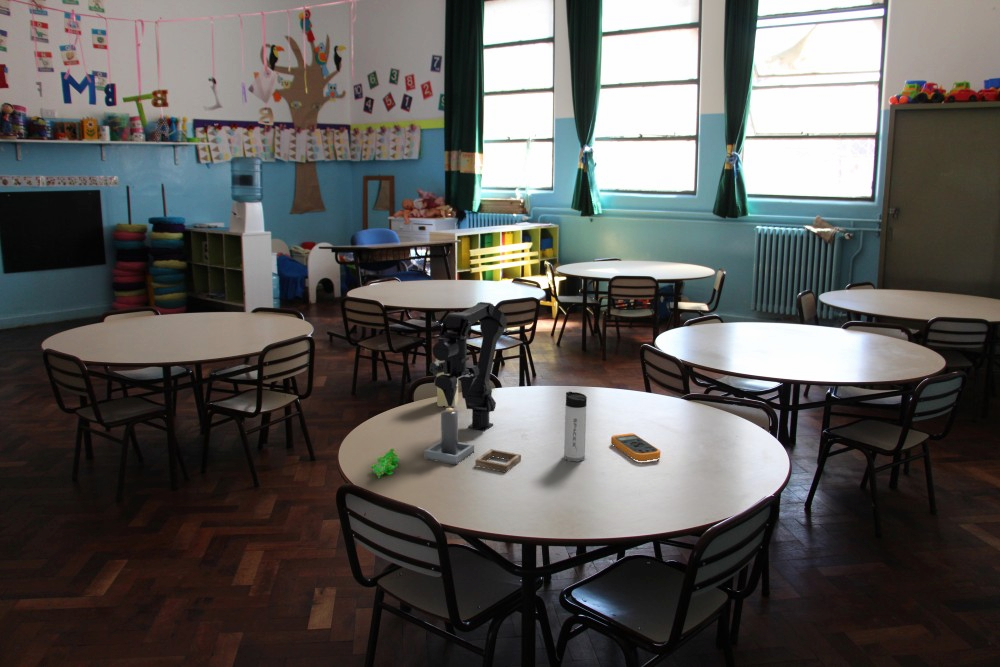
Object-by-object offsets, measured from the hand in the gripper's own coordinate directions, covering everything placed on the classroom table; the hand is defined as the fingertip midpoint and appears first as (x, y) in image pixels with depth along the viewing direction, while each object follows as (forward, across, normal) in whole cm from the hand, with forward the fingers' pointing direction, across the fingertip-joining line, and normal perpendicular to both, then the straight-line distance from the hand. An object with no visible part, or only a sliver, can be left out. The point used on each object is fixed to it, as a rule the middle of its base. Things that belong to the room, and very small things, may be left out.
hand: (457, 402), depth 247 cm
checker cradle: (+13, +11, +20) cm, 26 cm away
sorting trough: (+13, +12, +4) cm, 18 cm away
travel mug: (+13, -4, +38) cm, 40 cm away
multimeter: (+14, -17, +53) cm, 58 cm away
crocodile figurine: (+14, +30, -7) cm, 33 cm away
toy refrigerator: (+13, -33, -23) cm, 42 cm away
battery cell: (+12, +12, +4) cm, 18 cm away
